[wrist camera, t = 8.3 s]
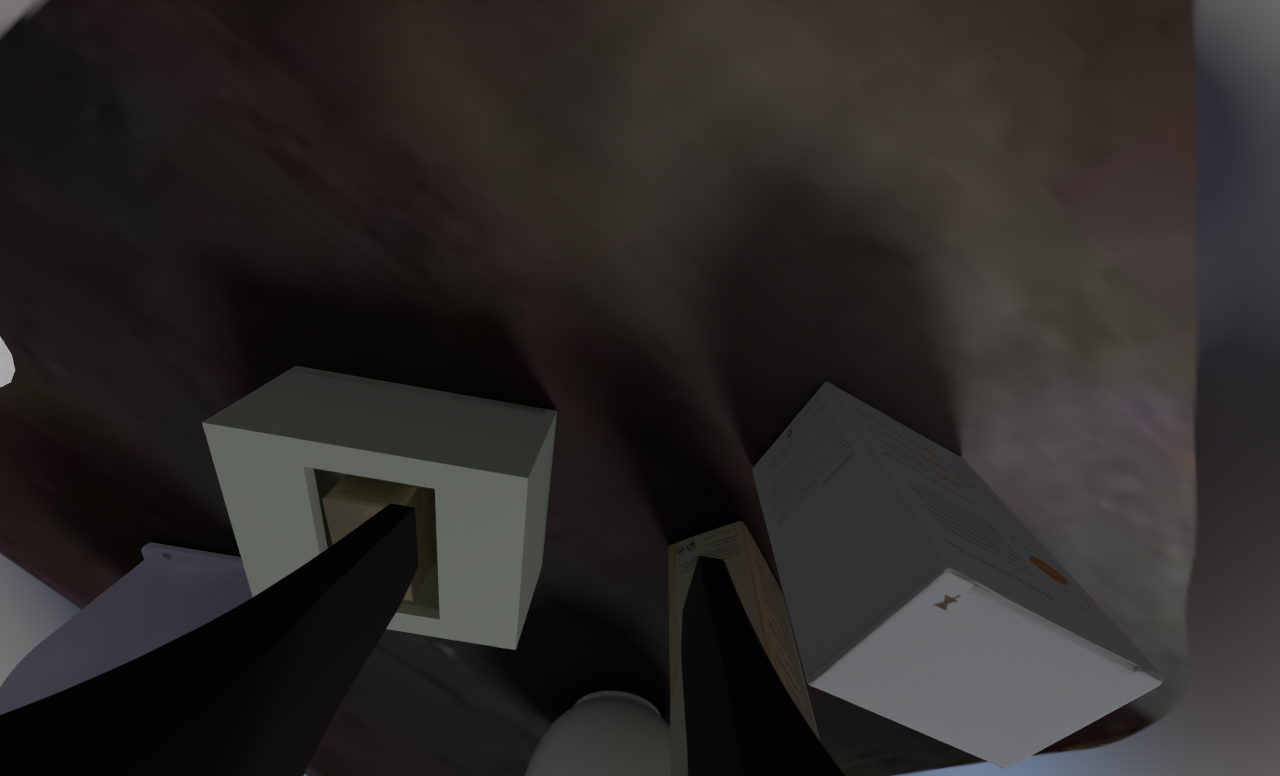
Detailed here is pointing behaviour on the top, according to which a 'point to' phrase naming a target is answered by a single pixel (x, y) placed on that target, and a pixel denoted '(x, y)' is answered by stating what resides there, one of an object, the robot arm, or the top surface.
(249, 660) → the robot arm
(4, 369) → the beverage cup
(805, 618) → the small box
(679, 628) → the skincare box
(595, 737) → the lidded jar
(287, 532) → the slot box
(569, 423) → the top surface
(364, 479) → the wooden rectangular block
